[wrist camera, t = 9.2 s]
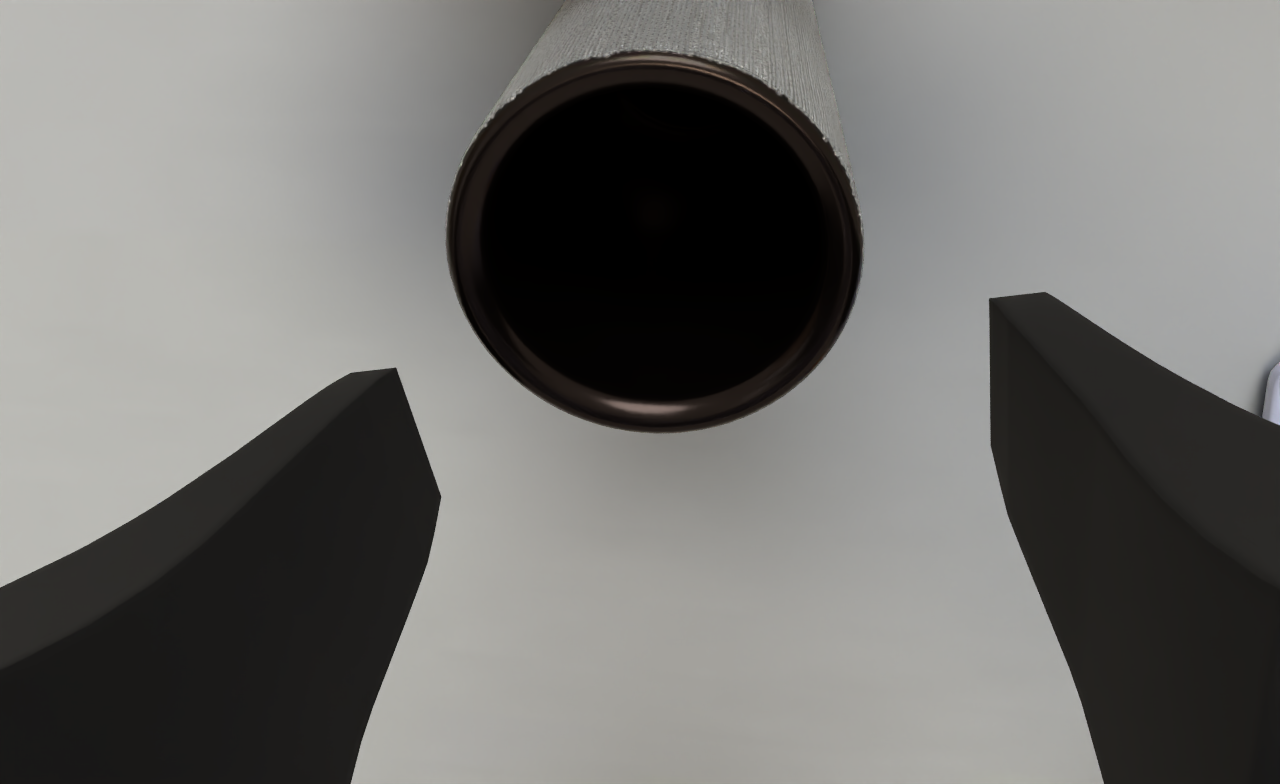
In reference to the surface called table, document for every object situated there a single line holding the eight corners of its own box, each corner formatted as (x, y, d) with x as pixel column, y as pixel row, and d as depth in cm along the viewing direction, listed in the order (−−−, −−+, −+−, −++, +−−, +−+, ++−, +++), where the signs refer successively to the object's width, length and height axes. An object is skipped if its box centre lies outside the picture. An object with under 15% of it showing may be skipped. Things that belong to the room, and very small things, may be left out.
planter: (558, 121, 21) (425, 396, 12) (595, -124, 19) (461, 4, 10) (779, 168, 21) (799, 472, 13) (844, -69, 19) (926, 104, 10)
